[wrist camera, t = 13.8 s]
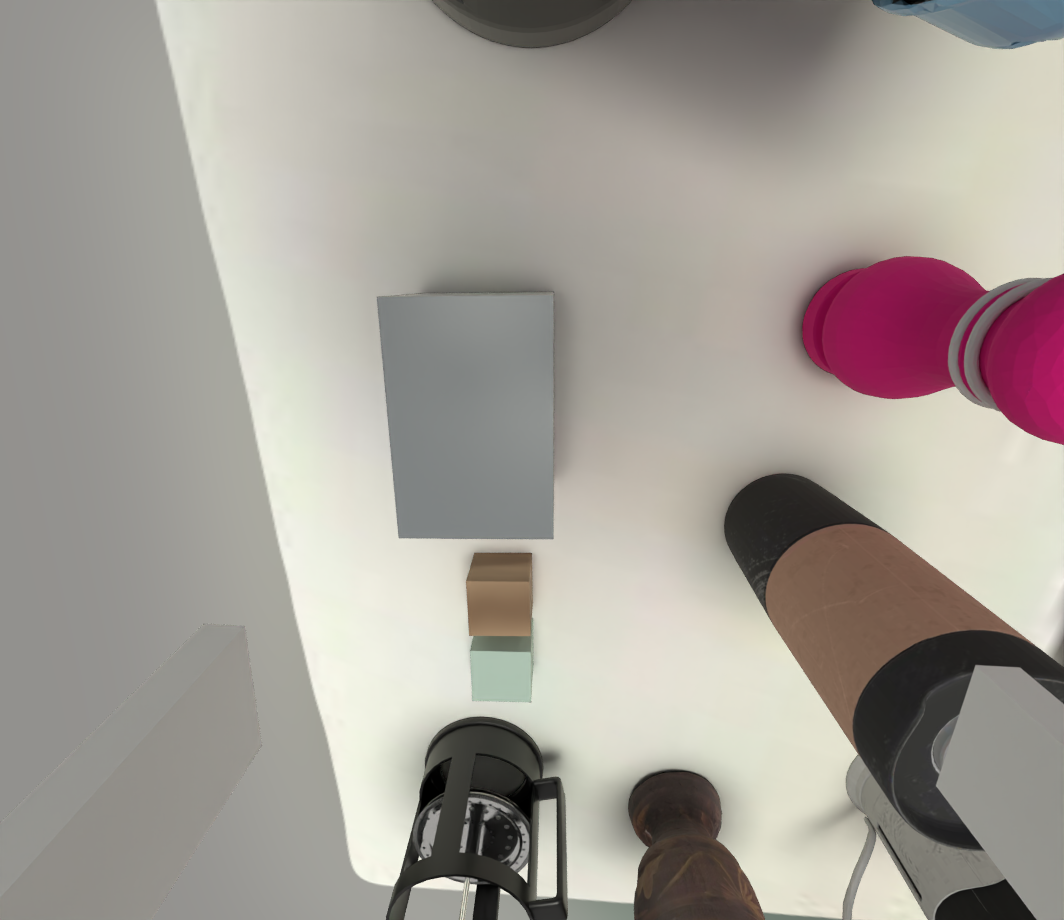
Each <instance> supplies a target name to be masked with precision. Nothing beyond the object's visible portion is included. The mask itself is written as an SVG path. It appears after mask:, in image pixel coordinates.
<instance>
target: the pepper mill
mask: <svg viewBox="0 0 1064 920" xmlns="http://www.w3.org/2000/svg"><path fill="white" fill-rule="evenodd" d="M802 331H803V342H804V346H805V348H806V350H807V352H808V354H809V356H810V358H811V359H812V360H813V362H814V363H815V364H816V365H817V366H819V367H820V368H821V369H823V370H825V371H827V372H829V373H832V374H834V375H835V376H836V377H837V378H838V379H839V380H840V381H841V382H842V383H844V384H845V385H847V386H848V387H850V388H851V389H853V390H855V391H857V392H860V393H862V394H866V395H870V396H875V397H880V398H887V399H902V398H912V397H920V396H924V395H929V394H932V393H935V392H938V391H941V390H944V389H947V388H950V387H955V386H956V387H957V389H958V390H959V391H960V393H961V394H962V395H964V396H965V397H966V398H967V399H968V400H970V401H972V402H973V403H975V404H977V405H980V406H982V407H986V408H991V409H995V410H997V411H1000V412H1002V413H1003V414H1004V415H1005V416H1006V417H1007V419H1008V420H1009V421H1010V422H1012V423H1013V424H1015V425H1016V426H1018V427H1019V428H1021V429H1023V430H1024V431H1026V432H1027V433H1029V434H1032V435H1034V436H1036V437H1038V438H1040V439H1043V440H1047V441H1051V442H1055V443H1059V444H1062V445H1064V274H1062V275H1059V276H1057V277H1054V278H1045V279H1042V278H1026V279H1019V280H1015V281H1012V282H1009V283H1006V284H1003V285H1001V286H998V287H997V288H995V289H993V290H991V291H986V290H985V289H984V288H983V287H982V286H981V285H980V284H979V283H978V282H977V281H976V280H975V279H974V278H973V277H971V276H970V275H969V274H967V273H966V272H965V271H963V270H961V269H959V268H957V267H955V266H953V265H951V264H949V263H947V262H945V261H941V260H937V259H934V258H926V257H911V256H904V257H896V258H892V259H888V260H884V261H881V262H878V263H876V264H874V265H872V266H870V267H868V268H861V269H855V270H850V271H848V272H845V273H842V274H840V275H838V276H837V277H835V278H833V279H831V280H830V281H828V282H827V283H826V284H825V285H824V286H823V287H821V289H820V290H819V291H818V292H817V293H816V294H815V296H814V297H813V299H812V301H811V302H810V304H809V306H808V308H807V311H806V313H805V316H804V320H803V327H802Z"/></svg>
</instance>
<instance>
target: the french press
mask: <svg viewBox="0 0 1064 920" xmlns="http://www.w3.org/2000/svg"><path fill="white" fill-rule="evenodd" d="M476 755H481V756H489V757H493V758H497V759H500V760H503V761H505V762H507V763H510V764H511V765H513V766H514V767H516V768H517V769H519V770H520V771H521V772H522V773H523V774H524V775H525V776H526V778H525V781H524V782H523V784H522V785H521V787H520V788H519V789H518V790H517V791H516V792H514V793H513V794H511V795H510V796H507V797H505V796H503V795H500V794H498V793H495V792H492V791H489V790H485V789H480V788H470V787H471V781H472V775H473V769H474V763H475V757H476ZM451 759H452V760H451ZM449 760H451V765H450V770H449V774H448V779H447V781H446V780H445V778H444V776H443V773H442V769H441V764H442V763H444V762H446V761H449ZM542 776H543V761H542V756H541V754H540V751H539V749H538V747H537V745H536V744H535V743H534V741H533V740H532V738H530V737H529V736H528V735H527V734H526V733H525V732H524V731H523V730H521V729H520V728H518V727H516V726H515V725H513V724H510V723H508V722H506V721H503V720H499V719H495V718H486V717H476V718H467V719H463V720H459V721H457V722H455V723H452V724H450V725H448V726H447V727H445V728H444V729H442V730H441V731H440V732H439V733H438V734H437V735H436V736H435V737H434V738H433V740H432V742H431V744H430V745H429V747H428V751H427V754H426V758H425V773H424V776H423V780H422V784H421V788H420V800H419V804H418V808H417V812H416V815H415V819H414V823H413V827H412V831H411V835H410V838H409V842H408V846H407V850H406V854H405V858H404V861H403V865H402V869H401V873H400V877H399V878H398V880H397V882H396V884H395V886H394V890H393V893H392V897H391V901H390V904H389V908H388V912H387V916H386V920H404V916H405V912H406V908H407V904H408V900H409V895H410V891H411V887H413V886H414V885H416V884H419V883H421V882H424V881H426V880H430V879H435V878H440V877H446V878H449V879H451V880H454V881H458V882H462V883H464V889H463V896H462V903H461V909H460V917H459V920H465V914H466V907H467V900H468V893H469V885H470V884H477V889H476V897H475V904H474V912H473V920H498V909H499V897H500V888H501V889H503V890H504V891H506V892H508V893H509V894H511V895H512V896H513V897H514V898H515V899H516V900H518V901H519V902H520V904H521V905H522V906H523V907H524V909H525V910H526V912H527V914H528V916H529V918H530V920H567V914H568V902H567V852H566V803H565V793H564V790H563V786H562V782H561V779H560V778H559V777H550V778H543V779H542ZM555 798H557V895H556V897H554V898H550V899H542V900H536V898H537V864H538V831H539V801H540V800H548V799H555ZM419 856H420V857H421V859H422V860H419V861H418V858H419ZM527 863H528V880H527V883H526V882H525V880H524V879H523V878H522V877H521V876H520V875H519V874H518V872H519V871H520V870H521V869H522V868H523V867H525V865H526V864H527Z"/></svg>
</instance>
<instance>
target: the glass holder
mask: <svg viewBox="0 0 1064 920" xmlns="http://www.w3.org/2000/svg"><path fill="white" fill-rule="evenodd" d="M846 789H847V793H848V795H849V797H850V799H851V801H852V802H853V803H854V805H855V806H856V807H857V808H858V809H859V810H860V811H862V812H863V813H864V814H866V815H867V817H868V818H869V819H868V818H866V817H865V818H864V820H865V822H866V824H867V826H868V829H869V832H868V836H867V839H866V842H865V845H864V848H863V850H862V852H861V855H860V857H859V860H858V862H857V864H856V866H855V869H854V871H853V874H852V877H851V880H850V883H849V885H848V888H847V891H846V894H845V898H844V901H843V920H851V919H852V908H853V903H854V899H855V896H856V892H857V889H858V886H859V883H860V881H861V878H862V875H863V873H864V871H865V869H866V867H867V864H868V862H869V859H870V857H871V854H872V851H873V848H874V845H875V841H876V832H877V834H878V836H879V837H880V839H881V841H882V842H883V844H884V846H885V847H886V849H887V851H888V853H889V854H890V856H891V858H892V859H893V861H894V863H895V865H896V866H897V868H898V870H899V871H900V873H901V875H902V877H903V878H904V880H905V882H906V883H907V885H908V887H909V889H910V890H911V892H912V894H913V895H914V897H915V899H916V900H917V902H918V904H919V906H920V907H921V909H922V911H923V912H924V914H925V916H926V918H927V919H928V920H1037V919H1036V918H1035V917H1034V915H1033V914H1032V913H1031V911H1030V910H1029V909H1028V907H1027V906H1026V905H1025V904H1024V902H1023V901H1022V900H1021V898H1020V897H1019V896H1018V894H1017V893H1016V892H1015V890H1014V889H1013V888H1012V886H1011V885H1010V884H1009V882H1008V881H1007V880H1006V878H1005V877H1004V876H1003V874H1002V873H1001V872H1000V870H999V869H998V868H997V866H996V865H995V864H994V862H993V861H992V860H991V858H990V857H989V856H988V854H987V853H986V852H984V851H968V850H960V849H956V848H951V847H947V846H944V845H941V844H939V843H936V842H934V841H932V840H930V839H928V838H926V837H924V836H923V835H921V834H920V833H918V832H917V831H915V830H914V829H913V828H912V827H910V826H909V825H908V824H907V823H906V822H905V821H904V820H903V819H902V818H901V816H900V815H899V814H898V812H897V811H896V810H895V808H894V807H893V806H892V804H891V803H890V802H889V800H888V798H887V797H886V795H885V794H884V792H883V791H882V789H881V788H880V786H879V785H878V783H877V782H876V780H875V779H874V777H873V776H872V774H871V773H870V771H869V770H868V768H867V767H866V765H865V764H864V762H863V760H862V759H861V757H860V756H859V755H858V756H857V757H856V758H855V759H854V761H853V762H852V764H851V766H850V768H849V770H848V772H847V777H846ZM875 830H876V832H875Z"/></svg>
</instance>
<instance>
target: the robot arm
mask: <svg viewBox="0 0 1064 920" xmlns="http://www.w3.org/2000/svg"><path fill="white" fill-rule="evenodd" d="M432 1H433V2H434V3H435V4H436V5H437V6H438V7H439V8H440V9H441V10H442V11H443V12H444V13H445V14H447V15H448V16H449V17H450V18H452V19H453V20H454V21H455V22H457V23H458V24H460V25H461V26H463V27H464V28H466V29H468V30H469V31H471V32H473V33H475V34H477V35H479V36H481V37H483V38H486V39H489V40H491V41H494V42H498V43H501V44H505V45H511V46H518V47H546V46H552V45H558V44H562V43H565V42H569V41H572V40H575V39H577V38H580V37H582V36H584V35H586V34H588V33H590V32H592V31H594V30H596V29H598V28H599V27H601V26H602V25H604V24H605V23H607V22H608V21H610V20H611V19H612V18H613V17H615V16H616V15H617V14H618V13H619V12H621V11H622V10H623V9H624V8H625V7H626V6H627V5H628V4H629V3H630V2H631V1H632V0H432ZM872 1H873V4H874V5H875V6H877V7H878V8H880V9H882V10H884V11H886V12H888V13H891V14H896V15H901V16H909V15H914V16H916V17H918V18H920V19H922V20H924V21H926V22H928V23H930V24H932V25H934V26H936V27H938V28H941V29H943V30H945V31H947V32H949V33H951V34H953V35H955V36H957V37H959V38H961V39H963V40H965V41H967V42H969V43H972V44H974V45H977V46H982V47H988V48H993V49H1014V48H1018V47H1022V46H1026V45H1030V44H1033V43H1036V42H1043V41H1046V40H1059V39H1062V38H1064V0H872ZM261 746H262V742H261V735H260V728H259V721H258V714H257V707H256V700H255V693H254V686H253V679H252V672H251V665H250V658H249V651H248V644H247V637H246V630H245V626H237V625H218V624H203V625H202V626H201V627H200V628H199V629H198V630H197V631H196V632H195V633H194V634H193V635H192V636H191V637H190V638H189V639H188V640H187V641H186V642H185V643H184V644H183V645H182V646H181V647H179V648H178V649H177V650H176V651H175V652H174V653H173V654H172V655H171V656H170V657H169V658H168V659H167V660H166V661H165V662H164V663H163V664H162V665H161V666H160V667H159V668H158V669H157V670H156V671H155V672H154V673H153V674H152V675H151V676H150V677H149V678H148V679H147V680H146V681H145V682H144V683H143V684H142V685H141V686H140V687H138V689H137V690H135V691H134V692H133V693H132V694H131V695H130V696H129V697H128V698H127V699H126V700H125V701H124V702H123V703H122V704H121V705H120V706H119V707H118V708H117V709H116V710H115V711H114V712H113V713H112V714H111V715H110V716H109V717H108V718H107V719H106V720H105V721H104V722H103V723H102V724H101V725H100V726H98V728H97V729H95V730H94V731H93V732H92V733H91V734H90V735H89V736H88V737H87V738H86V739H85V740H84V741H83V742H82V743H81V744H80V745H79V746H78V747H77V748H76V749H75V750H74V751H73V752H72V753H71V754H70V755H69V756H68V757H67V758H66V759H65V760H64V761H63V762H62V763H61V764H60V765H59V766H57V768H56V769H55V770H53V771H52V772H51V773H50V774H49V775H48V776H47V777H46V778H45V779H44V780H43V781H42V782H41V783H40V784H39V785H38V786H37V787H36V788H35V789H34V790H33V791H32V792H31V793H30V794H29V795H28V796H27V797H26V798H25V799H24V800H23V801H22V802H21V803H20V804H19V805H18V806H16V808H14V809H13V810H12V811H11V812H10V813H9V814H8V815H7V816H6V817H5V818H4V819H3V820H2V821H1V822H0V920H152V919H153V917H154V916H155V914H156V913H157V911H158V909H159V908H160V906H161V905H162V903H163V901H164V900H165V898H166V897H167V895H168V894H169V892H170V890H171V889H172V887H173V886H174V884H175V882H176V881H177V879H178V878H179V876H180V874H181V873H182V871H183V870H184V868H185V867H186V865H187V863H188V862H189V860H190V858H191V857H192V855H193V854H194V852H195V851H196V849H197V847H198V846H199V844H200V843H201V841H202V840H203V838H204V836H205V835H206V833H207V832H208V830H209V829H210V827H211V825H212V824H213V822H214V821H215V819H216V818H217V816H218V814H219V813H220V811H221V810H222V808H223V806H224V805H225V803H226V802H227V800H228V799H229V797H230V795H231V794H232V792H233V791H234V789H235V787H236V786H237V784H238V783H239V781H240V780H241V778H242V776H243V775H244V773H245V771H246V770H247V768H248V767H249V765H250V764H251V762H252V760H253V759H254V757H255V755H256V754H257V753H258V751H259V749H260V748H261ZM936 787H937V788H938V789H939V791H940V792H941V793H942V795H943V796H944V797H945V799H946V800H947V801H948V802H949V804H950V805H951V806H952V808H953V809H954V810H955V812H956V813H957V814H958V816H959V817H960V818H961V820H962V821H963V822H964V824H965V825H966V826H967V828H968V829H969V830H970V832H971V833H972V834H973V836H974V837H975V838H976V840H977V841H978V842H979V844H980V845H981V846H982V848H983V849H984V850H985V852H986V853H987V854H988V856H989V857H990V858H991V860H992V861H993V862H994V864H995V865H996V866H997V868H998V869H999V870H1000V872H1001V873H1002V874H1003V876H1004V877H1005V878H1006V880H1007V881H1008V882H1009V884H1010V885H1011V886H1012V888H1013V889H1014V890H1015V892H1016V893H1017V894H1018V896H1019V897H1020V898H1021V900H1022V901H1023V902H1024V904H1025V905H1026V906H1027V907H1028V909H1029V910H1030V911H1031V913H1032V914H1033V915H1034V917H1035V918H1036V919H1037V920H1064V704H1063V703H1062V702H1061V701H1059V700H1058V699H1057V698H1056V697H1055V696H1053V695H1052V694H1051V693H1050V692H1049V691H1047V690H1046V689H1045V688H1044V687H1043V686H1041V685H1040V684H1039V683H1038V682H1037V681H1035V680H1034V679H1033V678H1032V677H1031V676H1029V675H1028V674H1027V673H1026V672H1025V671H1023V670H1022V669H1021V668H1020V667H1001V666H983V665H975V668H974V671H973V674H972V678H971V681H970V684H969V687H968V690H967V693H966V696H965V699H964V702H963V705H962V708H961V711H960V714H959V717H958V720H957V723H956V726H955V729H954V732H953V735H952V738H951V741H950V744H949V747H948V750H947V753H946V756H945V759H944V763H943V766H942V769H941V772H940V775H939V778H938V781H937V784H936Z"/></svg>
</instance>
